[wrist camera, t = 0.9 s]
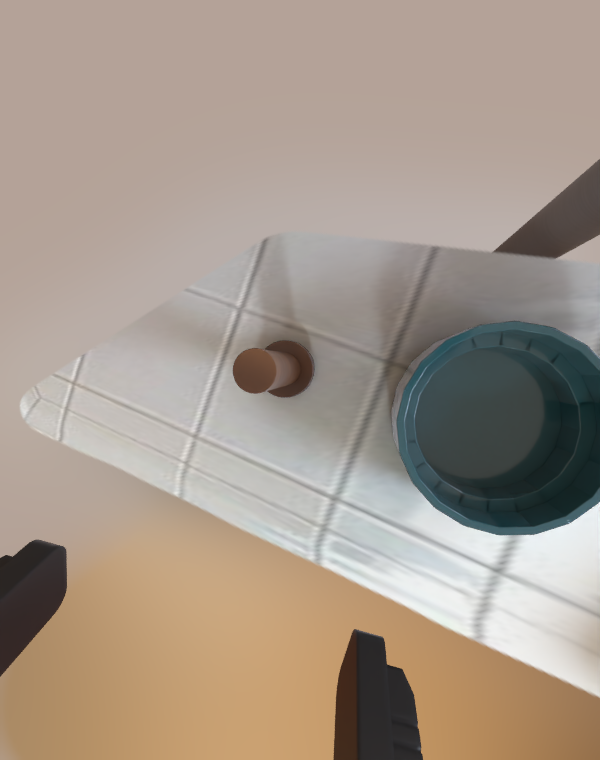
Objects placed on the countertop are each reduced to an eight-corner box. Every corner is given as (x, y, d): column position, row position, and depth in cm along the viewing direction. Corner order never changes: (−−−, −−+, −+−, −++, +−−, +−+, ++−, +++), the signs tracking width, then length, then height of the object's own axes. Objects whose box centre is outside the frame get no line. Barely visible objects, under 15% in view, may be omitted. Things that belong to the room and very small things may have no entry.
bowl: (449, 298, 32) (469, 283, 26) (617, 387, 30) (679, 392, 24) (359, 444, 34) (359, 461, 28) (512, 537, 32) (546, 576, 26)
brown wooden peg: (277, 331, 35) (240, 317, 24) (324, 358, 34) (307, 356, 24) (250, 378, 35) (204, 384, 25) (297, 406, 35) (268, 424, 24)
